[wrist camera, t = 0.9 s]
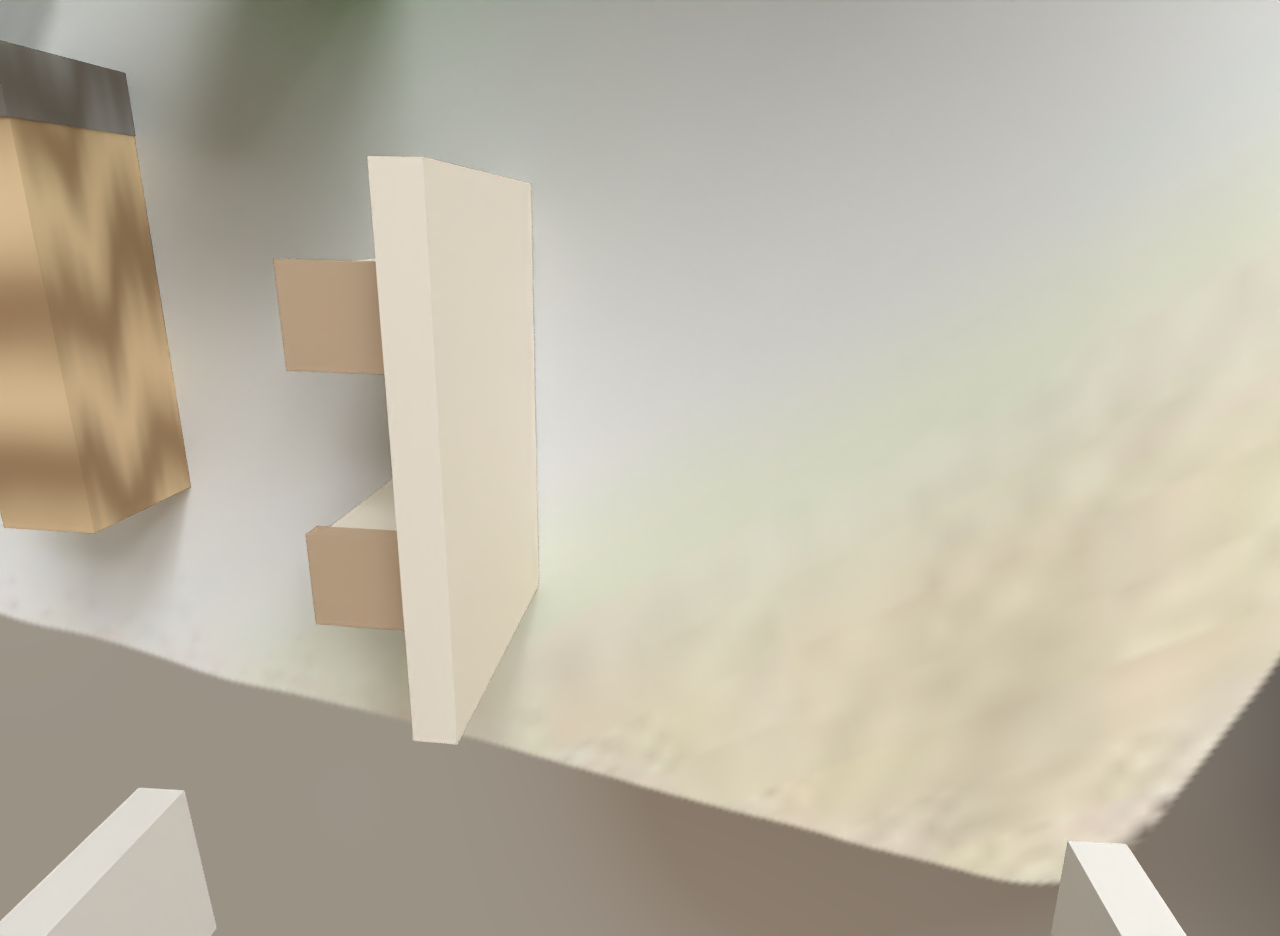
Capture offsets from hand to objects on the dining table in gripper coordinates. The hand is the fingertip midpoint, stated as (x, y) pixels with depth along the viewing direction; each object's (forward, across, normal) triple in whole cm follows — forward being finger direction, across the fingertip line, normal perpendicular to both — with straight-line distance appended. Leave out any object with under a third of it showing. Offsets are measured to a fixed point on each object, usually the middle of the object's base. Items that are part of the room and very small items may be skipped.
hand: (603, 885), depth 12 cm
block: (+24, -25, +7) cm, 35 cm away
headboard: (+24, -9, +2) cm, 26 cm away
